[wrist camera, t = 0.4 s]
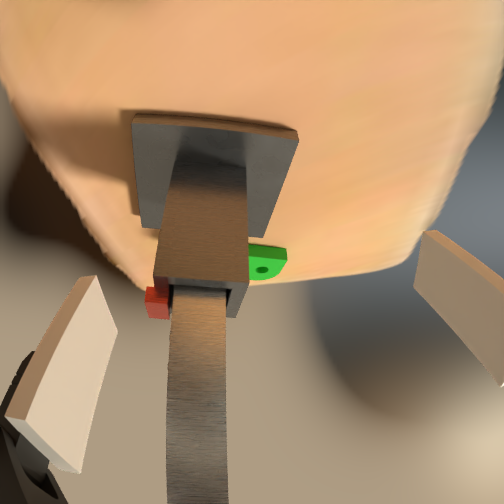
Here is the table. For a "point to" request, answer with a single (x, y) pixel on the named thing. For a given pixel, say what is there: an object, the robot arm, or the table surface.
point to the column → (197, 398)
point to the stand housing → (206, 199)
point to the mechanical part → (265, 261)
